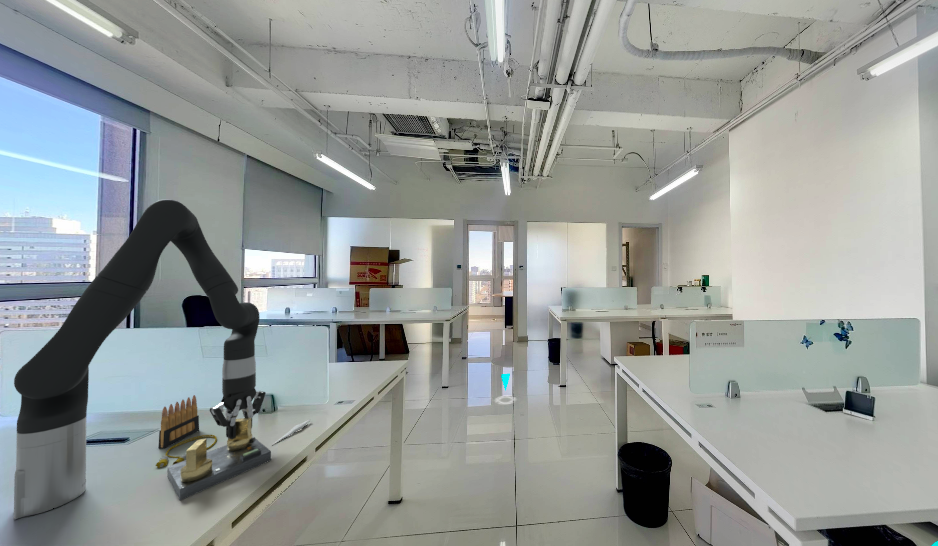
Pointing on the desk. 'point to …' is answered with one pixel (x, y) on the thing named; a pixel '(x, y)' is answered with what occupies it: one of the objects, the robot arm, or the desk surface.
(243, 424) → the knob outer
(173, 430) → the ammunition clip
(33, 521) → the desk surface
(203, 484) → the base
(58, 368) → the robot arm
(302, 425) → the stylus pen
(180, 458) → the extension cord
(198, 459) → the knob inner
